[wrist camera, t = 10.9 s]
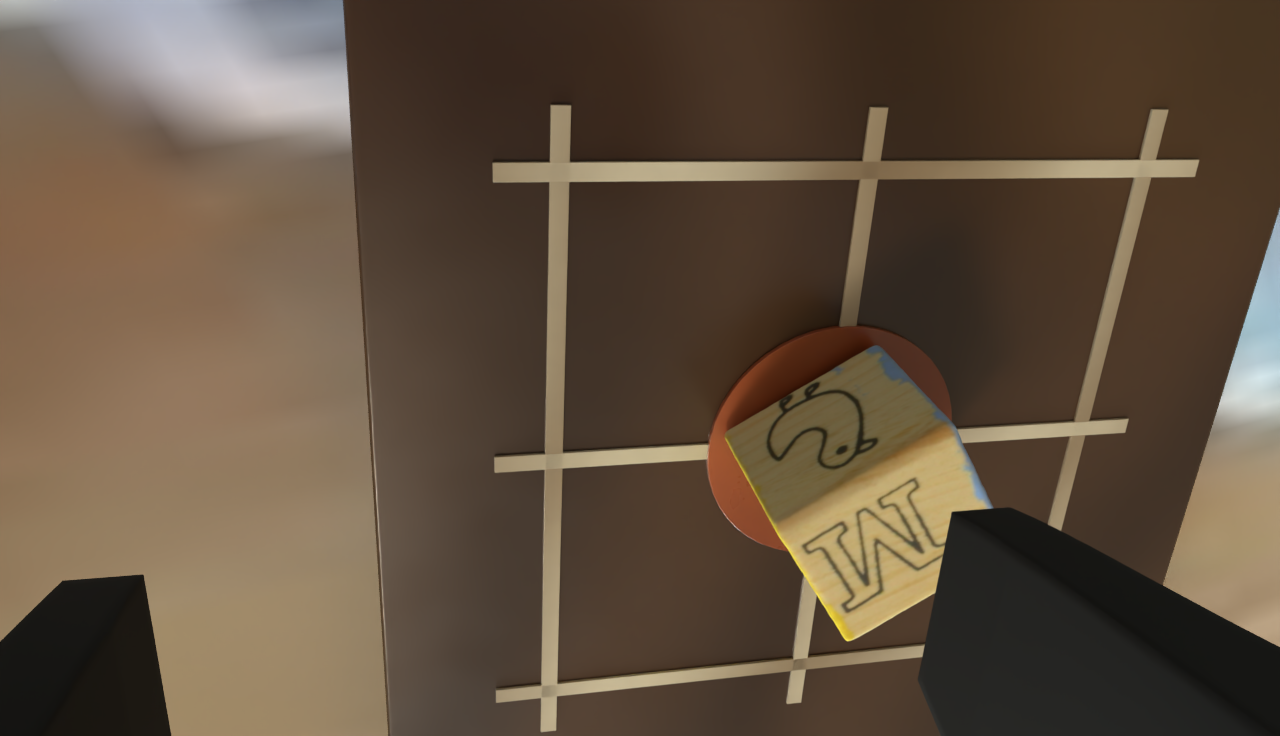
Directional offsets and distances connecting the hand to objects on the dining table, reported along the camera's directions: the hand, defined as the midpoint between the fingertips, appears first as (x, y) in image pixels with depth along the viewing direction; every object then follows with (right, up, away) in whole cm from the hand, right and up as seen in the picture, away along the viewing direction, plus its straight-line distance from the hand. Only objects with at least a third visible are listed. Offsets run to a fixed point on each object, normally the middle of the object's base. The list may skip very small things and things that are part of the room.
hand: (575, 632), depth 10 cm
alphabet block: (+4, +1, +10) cm, 11 cm away
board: (+4, +2, +11) cm, 12 cm away
